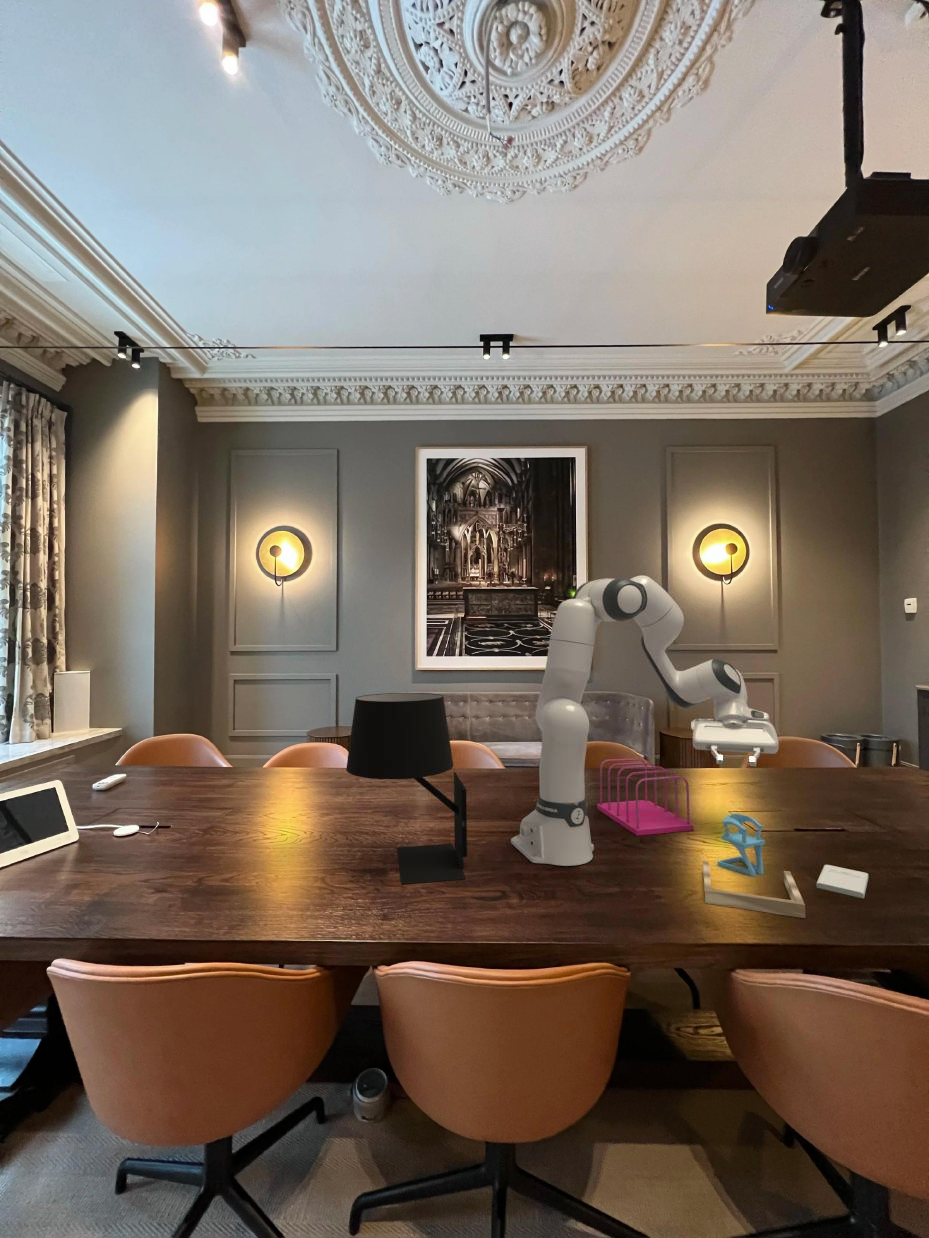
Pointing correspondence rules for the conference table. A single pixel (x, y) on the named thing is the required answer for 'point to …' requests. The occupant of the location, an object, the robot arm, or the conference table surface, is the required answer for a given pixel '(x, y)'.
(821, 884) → the external hard drive
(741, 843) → the chair
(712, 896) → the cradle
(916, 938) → the conference table surface
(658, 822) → the file sorter
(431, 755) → the table lamp
